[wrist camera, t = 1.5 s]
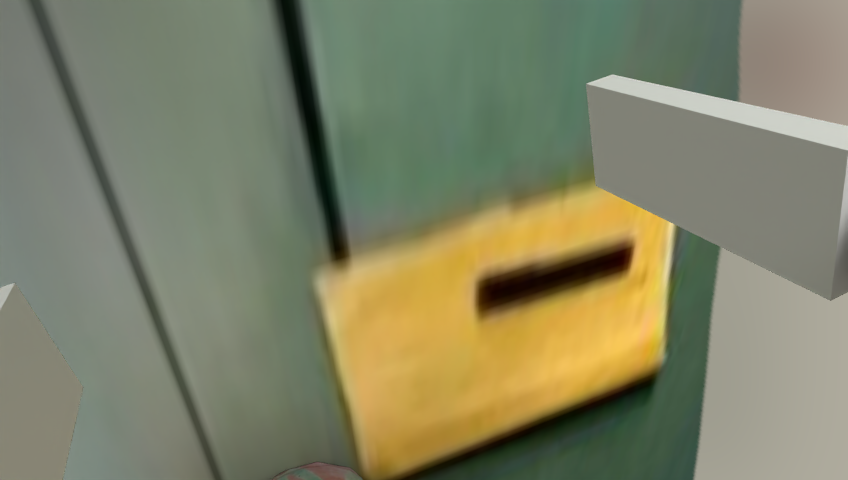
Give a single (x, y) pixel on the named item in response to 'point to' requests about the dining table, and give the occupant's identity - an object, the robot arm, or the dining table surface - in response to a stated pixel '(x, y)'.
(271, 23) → the dining table surface
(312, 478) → the potted plant
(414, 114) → the dining table surface
